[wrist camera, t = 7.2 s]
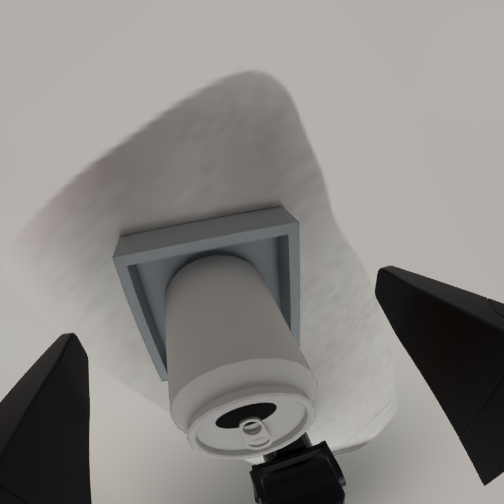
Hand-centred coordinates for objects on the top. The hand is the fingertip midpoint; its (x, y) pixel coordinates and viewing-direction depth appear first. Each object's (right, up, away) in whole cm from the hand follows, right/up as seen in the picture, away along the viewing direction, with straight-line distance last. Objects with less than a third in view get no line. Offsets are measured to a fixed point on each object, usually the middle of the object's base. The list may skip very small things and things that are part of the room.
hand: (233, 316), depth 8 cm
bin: (-2, -1, +15) cm, 15 cm away
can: (-2, -1, +15) cm, 15 cm away
